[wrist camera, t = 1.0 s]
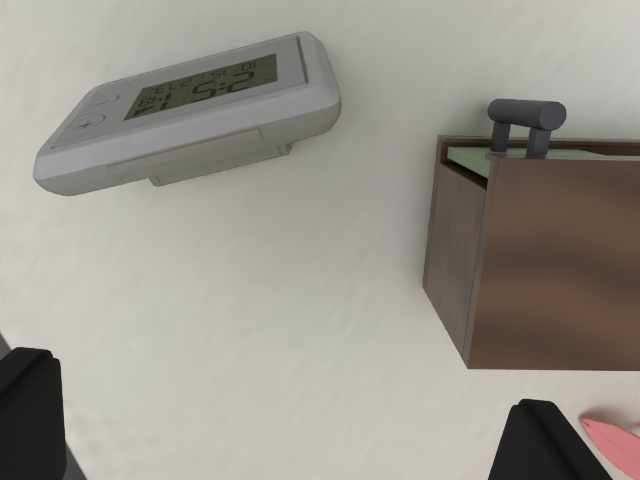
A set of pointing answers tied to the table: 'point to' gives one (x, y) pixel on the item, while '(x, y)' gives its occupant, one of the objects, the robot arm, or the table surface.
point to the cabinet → (538, 255)
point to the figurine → (616, 445)
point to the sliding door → (505, 113)
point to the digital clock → (193, 118)
